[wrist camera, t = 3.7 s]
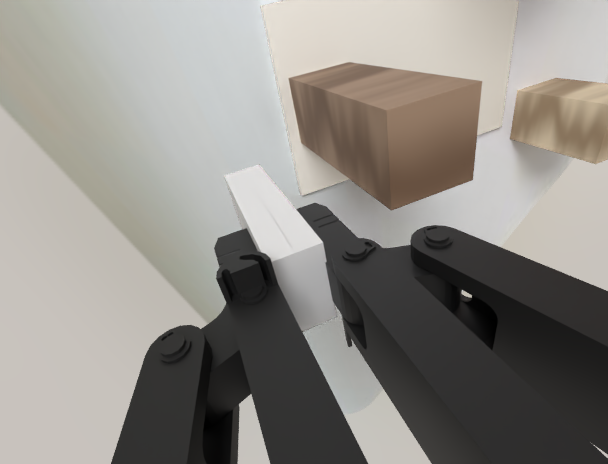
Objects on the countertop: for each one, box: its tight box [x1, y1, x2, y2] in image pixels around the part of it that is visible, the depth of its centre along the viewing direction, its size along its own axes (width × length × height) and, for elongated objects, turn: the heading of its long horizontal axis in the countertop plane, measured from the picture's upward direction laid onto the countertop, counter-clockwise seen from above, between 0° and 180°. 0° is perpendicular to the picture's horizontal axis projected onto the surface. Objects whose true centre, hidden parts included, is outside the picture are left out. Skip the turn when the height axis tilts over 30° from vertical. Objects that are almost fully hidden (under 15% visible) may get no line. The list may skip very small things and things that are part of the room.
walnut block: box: [288, 62, 482, 210], centre depth 20 cm, size 4×4×12 cm
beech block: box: [510, 78, 608, 164], centre depth 29 cm, size 4×4×8 cm
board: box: [260, 0, 519, 196], centre depth 26 cm, size 13×20×1 cm, turn 101°
